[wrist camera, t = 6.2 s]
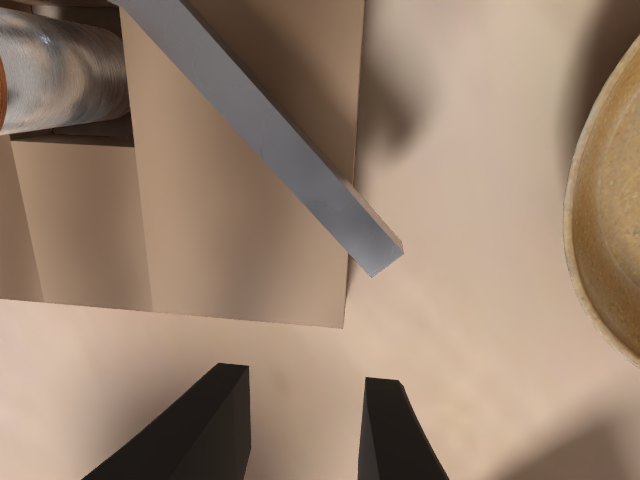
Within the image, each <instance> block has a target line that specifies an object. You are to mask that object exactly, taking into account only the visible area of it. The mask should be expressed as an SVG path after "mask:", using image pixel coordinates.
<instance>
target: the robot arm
mask: <svg viewBox="0 0 640 480" xmlns="http://www.w3.org/2000/svg"><path fill="white" fill-rule="evenodd" d="M250 450H251V424H250V385H249V366H246V365H235V364H225V363H218V364H217V365H215V366H214V367H213V368H212V369H211V370H210V371H208V372H207V373H206V374H205V375H204V376H203V377H202V378H201V379H199V380H198V381H197V382H196V383H195V384H194V385H193V386H192V387H191V388H190V389H188V390H187V391H186V392H185V393H184V394H183V395H182V396H181V397H180V398H179V399H177V400H176V401H175V402H174V403H173V404H172V405H171V406H170V407H169V408H167V409H166V410H165V411H164V412H163V413H162V414H161V415H159V416H158V417H157V418H156V419H155V420H154V421H152V422H151V423H150V424H149V425H148V426H147V427H145V428H144V429H143V430H142V431H141V432H140V433H138V434H137V435H136V436H135V437H134V438H133V439H131V440H130V441H129V442H128V443H127V444H125V445H124V446H123V447H122V448H121V449H119V450H118V451H117V452H116V453H114V454H113V455H112V456H111V457H109V458H108V459H107V460H105V461H104V462H103V463H102V464H100V465H99V466H98V467H97V468H95V469H94V470H93V471H92V472H90V473H89V474H88V475H87V476H85V477H84V478H83V479H81V480H243V479H244V475H245V471H246V467H247V462H248V458H249V454H250ZM358 480H449V478H448V476H447V474H446V472H445V471H444V469H443V467H442V465H441V464H440V462H439V460H438V458H437V456H436V455H435V453H434V451H433V449H432V447H431V445H430V443H429V441H428V440H427V438H426V436H425V434H424V432H423V430H422V427H421V425H420V423H419V421H418V419H417V417H416V415H415V413H414V411H413V408H412V406H411V404H410V402H409V399H408V397H407V394H406V392H405V389H404V386H403V385H402V384H401V383H400V382H399V381H398V380H390V379H380V378H370V377H366V379H365V391H364V402H363V413H362V424H361V436H360V447H359V458H358Z"/></svg>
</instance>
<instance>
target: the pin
mask: <svg viewBox="0 0 640 480" xmlns="http://www.w3.org/2000/svg"><path fill="white" fill-rule="evenodd" d="M130 110H131V109H130V100H129V92H128V83H127V74H126V65H125V56H124V47H123V40H122V39H121V38H120V37H118V36H117V35H116V34H114V33H112V32H110V31H108V30H106V29H103V28H99V27H94V26H89V25H84V24H79V23H75V22H70V21H65V20H60V19H55V18H50V17H46V16H41V15H36V14H31V13H26V12H21V11H17V10H12V9H7V8H2V7H0V135H6V134H13V133H20V132H27V131H34V130H41V129H48V128H55V127H62V126H69V125H76V124H83V123H90V122H97V121H104V120H111V119H116V118H119V117H122V116H123V115H125V114H127V113H128V112H129V111H130Z"/></svg>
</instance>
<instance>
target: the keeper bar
mask: <svg viewBox="0 0 640 480" xmlns="http://www.w3.org/2000/svg"><path fill="white" fill-rule="evenodd" d="M115 1H117V2H118V3H119V5H120V6H121V7H122V8H123V9H124V10H125V11H126V12H127V13H128V14H129V15H130V16H131V18H132V19H133V20H134V21H135V22H136V23H137V24H138V25H139V26H140V27H141V28H142V30H143V31H144V32H145V33H146V34H147V35H148V36H149V37H150V38H151V39H152V40H153V41H154V43H155V44H156V45H157V46H158V47H159V48H160V49H161V50H162V51H163V52H164V53H165V54H166V56H167V57H168V58H169V59H170V60H171V61H172V62H173V63H174V64H175V65H176V66H177V67H178V69H179V70H180V71H181V72H182V73H183V74H184V75H185V76H186V77H187V78H188V79H189V81H190V82H191V83H192V84H193V85H194V86H195V87H196V88H197V89H198V90H199V91H200V92H201V94H202V95H203V96H204V97H205V98H206V99H207V100H208V101H209V102H210V103H211V104H212V105H213V107H214V108H215V109H216V110H217V111H218V112H219V113H220V114H221V115H222V116H223V117H224V119H225V120H226V121H227V122H228V123H229V124H230V125H231V126H232V127H233V128H234V129H235V130H236V132H237V133H238V134H239V135H240V136H241V137H242V138H243V139H244V140H245V141H246V142H247V143H248V145H249V146H250V147H251V148H252V149H253V150H254V151H255V152H256V153H257V154H258V155H259V156H260V158H261V159H262V160H263V161H264V162H265V163H266V164H267V165H268V166H269V167H270V168H271V170H272V171H273V172H274V173H275V174H276V175H277V176H278V177H279V178H280V179H281V180H282V181H283V183H284V184H285V185H286V186H287V187H288V188H289V189H290V190H291V191H292V192H293V193H294V194H295V196H296V197H297V198H298V199H299V200H300V201H301V202H302V203H303V204H304V205H305V206H306V207H307V209H308V210H309V211H310V212H311V213H312V214H313V215H314V216H315V217H316V218H317V219H318V221H319V222H320V223H321V224H322V225H323V226H324V227H325V228H326V229H327V230H328V231H329V232H330V234H331V235H332V236H333V237H334V238H335V239H336V240H337V241H338V242H339V243H340V244H341V245H342V247H343V248H344V249H345V250H346V251H347V252H348V253H349V254H350V255H351V256H352V257H353V258H354V260H355V261H356V262H357V263H358V264H359V265H360V266H361V267H362V268H363V269H364V270H365V272H366V273H367V274H368V275H369V276H370V277H371V278H372V277H374V276H375V275H376V274H378V273H379V272H380V271H382V270H383V269H384V268H386V267H387V266H388V265H390V264H391V263H392V262H394V261H395V260H396V259H398V258H399V257H400V256H402V255H403V254H404V251H403V246H402V242H401V240H400V239H399V238H398V237H397V236H396V235H395V234H394V232H393V231H392V230H391V229H390V228H389V227H388V226H387V225H386V223H385V222H384V221H383V220H382V219H381V218H380V217H379V215H378V214H377V213H376V212H375V211H374V210H373V209H372V208H371V206H370V205H369V204H368V203H367V202H366V201H365V200H364V198H363V197H362V196H361V195H360V194H359V193H358V192H357V191H356V189H355V188H354V187H353V186H352V185H351V184H350V183H349V182H348V180H347V179H346V178H345V177H344V176H343V175H342V174H341V172H340V171H339V170H338V169H337V168H336V167H335V166H334V165H333V163H332V162H331V161H330V160H329V159H328V158H327V157H326V155H325V154H324V153H323V152H322V151H321V150H320V149H319V148H318V146H317V145H316V144H315V143H314V142H313V141H312V140H311V138H310V137H309V136H308V135H307V134H306V133H305V132H304V131H303V129H302V128H301V127H300V126H299V125H298V124H297V123H296V121H295V120H294V119H293V118H292V117H291V116H290V115H289V114H288V112H287V111H286V110H285V109H284V108H283V107H282V106H281V104H280V103H279V102H278V101H277V100H276V99H275V98H274V97H273V95H272V94H271V93H270V92H269V91H268V90H267V89H266V87H265V86H264V85H263V84H262V83H261V82H260V81H259V80H258V78H257V77H256V76H255V75H254V74H253V73H252V72H251V70H250V69H249V68H248V67H247V66H246V65H245V64H244V63H243V61H242V60H241V59H240V58H239V57H238V56H237V55H236V53H235V52H234V51H233V50H232V49H231V48H230V47H229V46H228V44H227V43H226V42H225V41H224V40H223V39H222V38H221V36H220V35H219V34H218V33H217V32H216V31H215V30H214V29H213V27H212V26H211V25H210V24H209V23H208V22H207V21H206V19H205V18H204V17H203V16H202V15H201V14H200V13H199V12H198V10H197V9H196V8H195V7H194V6H193V5H192V4H191V2H190V1H189V0H115Z"/></svg>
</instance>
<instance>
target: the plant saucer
mask: <svg viewBox="0 0 640 480" xmlns="http://www.w3.org/2000/svg"><path fill="white" fill-rule="evenodd" d="M563 238H564V249H565V256H566V261H567V266H568V270H569V273H570V277H571V281H572V283H573V286H574V289H575V292H576V294H577V297H578V299H579V301H580V303H581V305H582V307H583V309H584V311H585V312H586V314H587V316H588V317H589V319H590V320H591V321H592V323H593V325H594V326H595V327H596V329H597V330H598V331H599V332H600V334H601V335H602V336H603V337H604V338H605V339H606V340H607V341H608V343H609V344H610V345H611V346H612V347H613V348H614V349H615V350H616V351H617V352H618V353H620V354H621V355H622V356H624V357H625V358H626V359H627V360H629V361H630V362H631V363H633V364H634V365H636V366H637V367H638V368H640V34H639V35H638V37H637V38H636V39H635V40H634V42H633V43H632V44H631V46H630V47H629V48H628V50H627V51H626V52H625V54H624V55H623V57H622V58H621V60H620V61H619V63H618V64H617V66H616V67H615V69H614V70H613V71H612V73H611V74H610V76H609V77H608V79H607V81H606V82H605V84H604V86H603V88H602V90H601V92H600V93H599V95H598V97H597V99H596V100H595V102H594V104H593V107H592V109H591V111H590V113H589V116H588V118H587V120H586V122H585V125H584V127H583V130H582V132H581V134H580V137H579V140H578V142H577V145H576V148H575V151H574V155H573V159H572V163H571V166H570V170H569V175H568V179H567V185H566V191H565V198H564V208H563Z"/></svg>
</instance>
